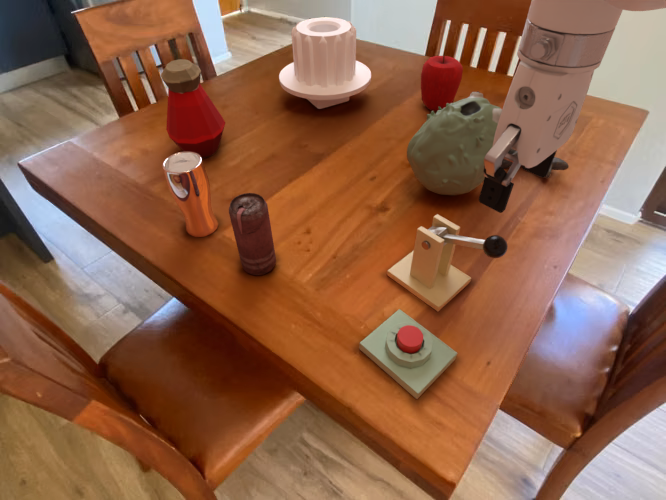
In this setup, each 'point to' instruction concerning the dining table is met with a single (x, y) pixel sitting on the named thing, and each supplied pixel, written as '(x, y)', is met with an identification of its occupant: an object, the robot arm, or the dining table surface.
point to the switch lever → (474, 242)
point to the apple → (440, 81)
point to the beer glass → (191, 192)
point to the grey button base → (407, 354)
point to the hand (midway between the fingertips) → (513, 188)
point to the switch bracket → (431, 267)
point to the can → (253, 233)
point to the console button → (409, 339)
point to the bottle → (191, 110)
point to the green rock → (454, 145)
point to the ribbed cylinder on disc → (324, 63)
